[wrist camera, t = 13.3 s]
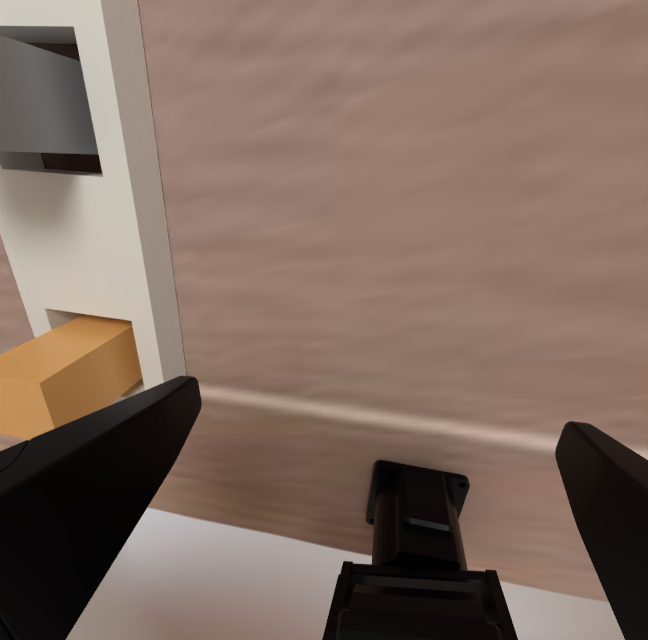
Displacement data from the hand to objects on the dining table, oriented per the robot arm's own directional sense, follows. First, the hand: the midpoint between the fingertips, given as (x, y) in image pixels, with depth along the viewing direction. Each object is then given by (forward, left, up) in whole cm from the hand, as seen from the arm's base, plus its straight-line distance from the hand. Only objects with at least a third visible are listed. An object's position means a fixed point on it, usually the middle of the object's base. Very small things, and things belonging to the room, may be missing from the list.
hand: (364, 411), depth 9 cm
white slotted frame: (0, +17, -12) cm, 21 cm away
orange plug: (-7, +17, -12) cm, 22 cm away
